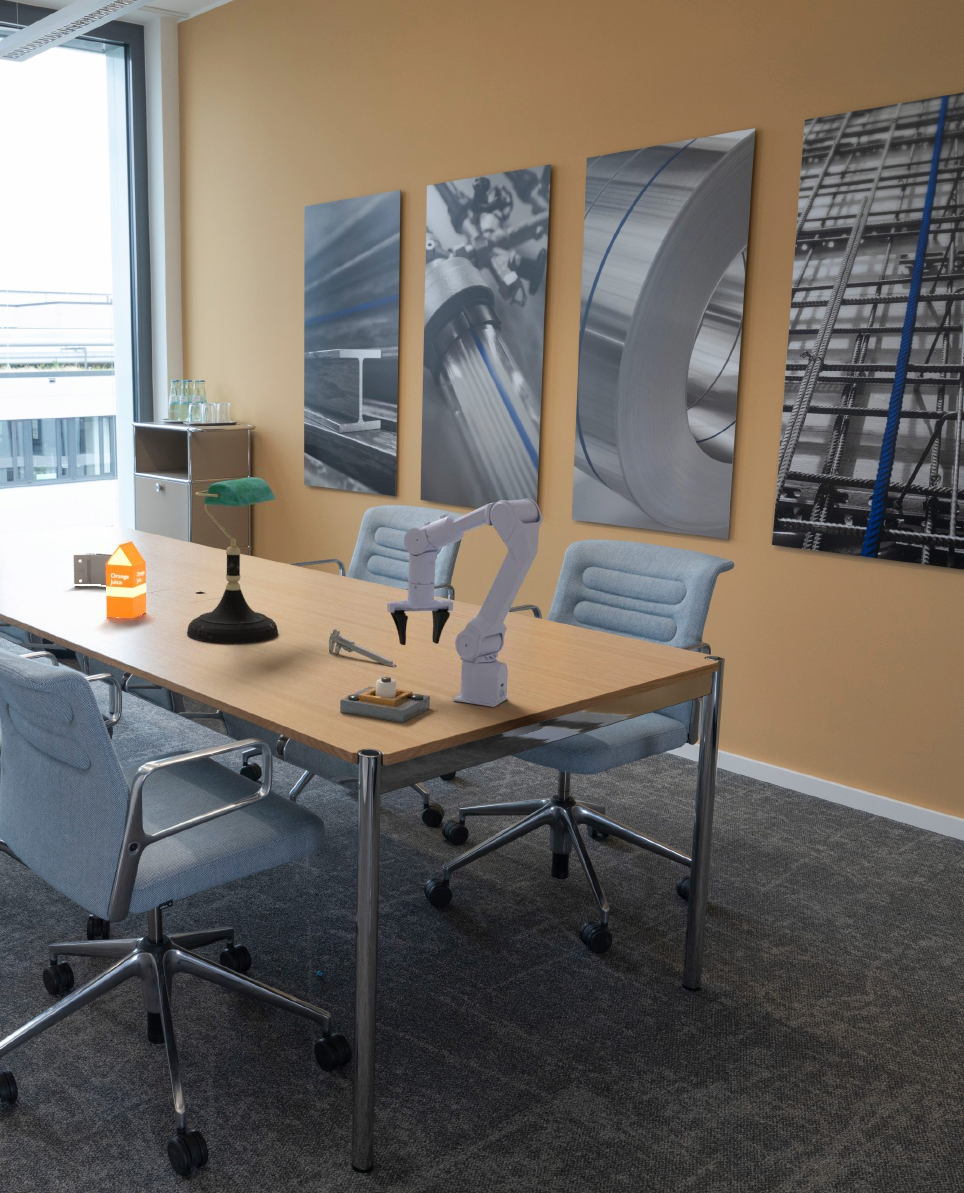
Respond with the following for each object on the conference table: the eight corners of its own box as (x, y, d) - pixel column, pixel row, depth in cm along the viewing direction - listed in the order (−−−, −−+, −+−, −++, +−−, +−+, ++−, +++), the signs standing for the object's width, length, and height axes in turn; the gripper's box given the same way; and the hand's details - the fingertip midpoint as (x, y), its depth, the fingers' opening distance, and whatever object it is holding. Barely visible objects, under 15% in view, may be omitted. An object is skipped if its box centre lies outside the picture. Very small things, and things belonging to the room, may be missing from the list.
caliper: (328, 653, 267) (328, 628, 266) (331, 653, 268) (331, 628, 267) (394, 668, 256) (394, 642, 255) (396, 667, 257) (397, 641, 256)
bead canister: (398, 709, 222) (399, 677, 221) (389, 713, 218) (390, 681, 217) (381, 706, 223) (382, 674, 222) (371, 710, 220) (372, 678, 219)
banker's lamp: (254, 648, 268) (255, 485, 260) (167, 640, 272) (166, 479, 265) (293, 627, 293) (295, 478, 286) (213, 620, 298) (214, 473, 290)
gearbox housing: (429, 707, 223) (430, 691, 223) (402, 722, 212) (403, 705, 212) (369, 698, 229) (369, 681, 228) (340, 711, 218) (340, 695, 217)
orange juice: (146, 613, 303) (146, 541, 299) (133, 619, 294) (132, 545, 291) (119, 611, 304) (118, 540, 300) (105, 617, 295) (104, 544, 292)
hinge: (73, 587, 336) (72, 555, 335) (78, 584, 342) (77, 552, 340) (119, 588, 338) (118, 556, 336) (123, 585, 343) (123, 554, 341)
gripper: (446, 578, 243) (443, 638, 246) (383, 579, 238) (382, 640, 240) (457, 584, 237) (455, 645, 239) (393, 585, 231) (391, 647, 234)
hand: (419, 643), depth 239 cm, fingers open, 7 cm apart
